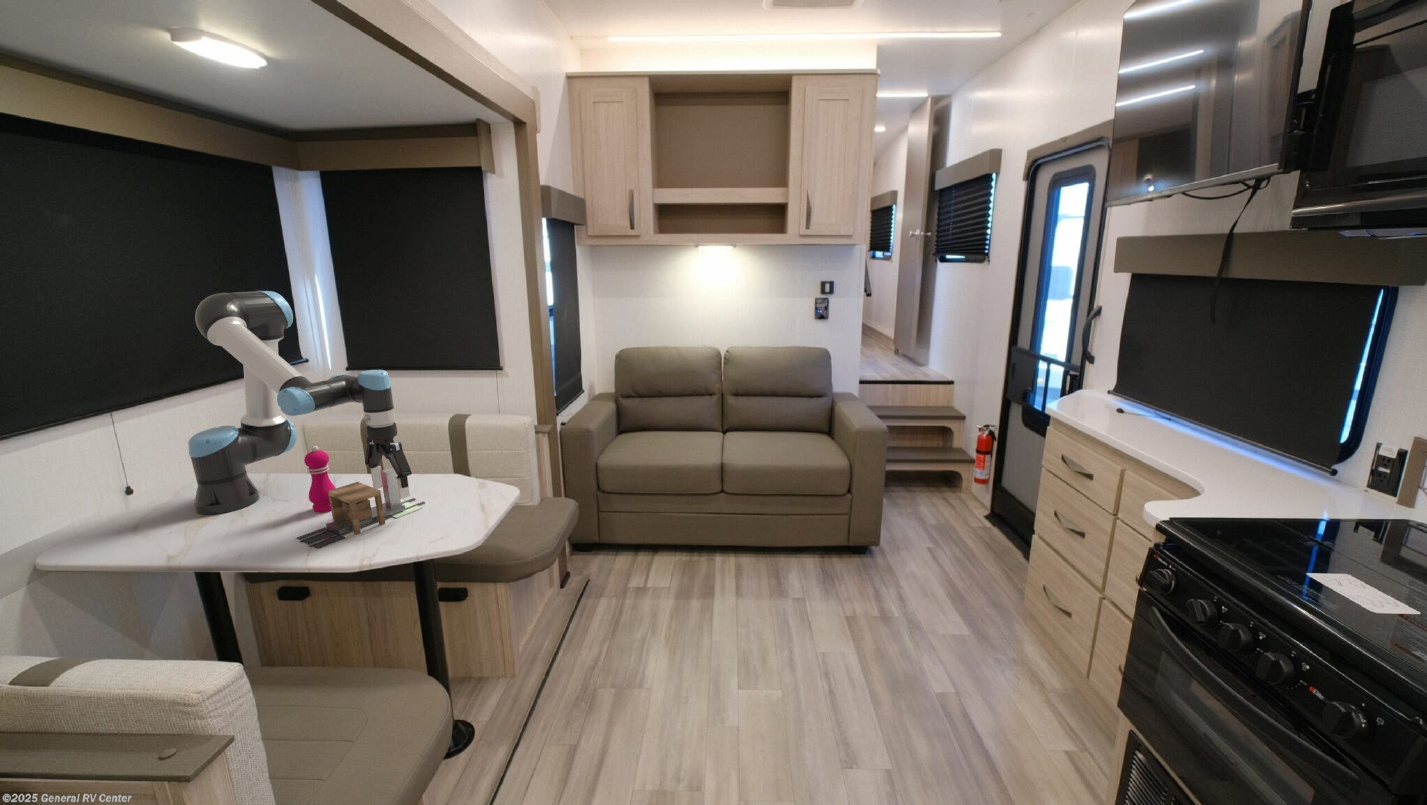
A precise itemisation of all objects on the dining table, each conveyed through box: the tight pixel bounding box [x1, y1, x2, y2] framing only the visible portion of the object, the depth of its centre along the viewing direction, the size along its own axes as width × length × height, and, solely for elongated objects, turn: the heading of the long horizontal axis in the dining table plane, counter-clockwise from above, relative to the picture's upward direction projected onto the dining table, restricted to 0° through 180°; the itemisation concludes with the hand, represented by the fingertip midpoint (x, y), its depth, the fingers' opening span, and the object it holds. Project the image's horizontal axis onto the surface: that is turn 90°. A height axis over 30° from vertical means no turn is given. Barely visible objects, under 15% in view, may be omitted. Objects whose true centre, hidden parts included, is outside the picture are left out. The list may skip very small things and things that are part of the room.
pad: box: [391, 499, 423, 519], centre depth 172 cm, size 11×8×1 cm
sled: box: [325, 467, 405, 534], centre depth 162 cm, size 7×18×12 cm, turn 149°
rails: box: [298, 497, 426, 548], centre depth 164 cm, size 6×32×1 cm, turn 149°
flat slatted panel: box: [296, 526, 347, 550], centre depth 154 cm, size 11×7×1 cm, turn 59°
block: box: [342, 499, 372, 522], centre depth 161 cm, size 5×5×5 cm
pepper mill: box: [303, 445, 336, 514], centre depth 169 cm, size 7×7×20 cm
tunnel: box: [328, 481, 386, 536], centre depth 161 cm, size 12×8×10 cm, turn 59°
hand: (391, 492), depth 169 cm, fingers open, 13 cm apart
